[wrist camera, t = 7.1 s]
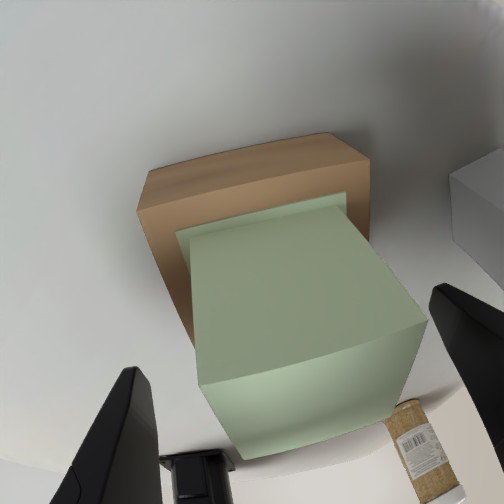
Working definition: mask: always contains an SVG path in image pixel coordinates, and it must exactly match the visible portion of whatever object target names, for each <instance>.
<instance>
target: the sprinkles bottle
mask: <svg viewBox="0 0 504 504" xmlns="http://www.w3.org/2000/svg"><path fill="white" fill-rule="evenodd" d="M383 422H384V424H385V425H386V426H387V428H388V431H389V433H390V435H391V437H392V439H393V442H394V445H395V448H396V450H397V452H398V455H399V457H400V459H401V461H402V464H403V466H404V468H405V469H406V471H407V474H408V476H409V478H410V480H411V482H412V485H413V488H414V489H415V492H416V494H417V496H418V498H419V500H420V504H459V503H460V502H462V501H463V500H464V499H465V498H466V494H465V491H464V489H463V487H462V485H460V484H459V481H457V478H456V476H455V474H454V472H453V470H452V468H451V465H450V464H449V460H448V458H447V456H446V454H445V452H444V450H443V448H442V446H441V444H440V442H439V440H438V438H437V436H436V434H435V432H434V430H433V428H432V426H431V424H430V423H429V421H428V419H427V417H426V416H425V413H424V412H423V410H422V408H421V406H420V402H419V401H418V400H410V401H407V402H405V403H402V404H400V405H398V406H397V407H395V408H394V410H393V412H392V415H391V417H389V418H386V419H384V420H383Z"/></svg>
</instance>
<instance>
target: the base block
mask: <svg viewBox="0 0 504 504" xmlns="http://www.w3.org/2000/svg"><path fill="white" fill-rule="evenodd" d="M333 205H337V206H338V208H339V209H340V210H341V211H342V212H343V213H344V214H345V216H346V217H347V218H348V219H349V220H350V221H351V222H352V224H353V225H354V226H355V227H356V228H357V229H358V231H359V232H360V233H361V234H362V235H363V237H364V238H365V239H366V240H367V241H368V242H369V221H370V159H369V158H367V157H366V156H364V155H363V154H361V153H360V152H358V151H357V150H355V149H353V148H352V147H350V146H349V145H347V144H346V143H344V142H342V141H341V140H339V139H338V138H336V137H334V136H333V135H331V134H330V133H328V132H327V133H321V134H314V135H308V136H302V137H296V138H291V139H285V140H280V141H274V142H269V143H264V144H259V145H254V146H249V147H245V148H240V149H235V150H231V151H226V152H222V153H218V154H213V155H209V156H205V157H201V158H197V159H193V160H189V161H185V162H181V163H178V164H174V165H170V166H166V167H163V168H159V169H156V170H152V171H149V173H148V176H147V179H146V182H145V185H144V188H143V191H142V194H141V198H140V201H139V204H138V207H137V211H136V212H137V215H138V217H139V220H140V223H141V225H142V228H143V230H144V233H145V236H146V238H147V241H148V243H149V246H150V248H151V251H152V253H153V256H154V258H155V261H156V263H157V266H158V268H159V270H160V273H161V275H162V277H163V280H164V282H165V285H166V287H167V289H168V291H169V294H170V296H171V298H172V301H173V303H174V305H175V307H176V310H177V312H178V314H179V316H180V318H181V321H182V323H183V325H184V327H185V329H186V331H187V334H188V336H189V338H190V340H191V342H192V344H193V346H194V348H195V338H194V323H193V306H192V287H191V264H190V238H192V237H196V236H201V235H205V234H209V233H213V232H217V231H222V230H226V229H230V228H235V227H239V226H243V225H247V224H252V223H256V222H261V221H265V220H269V219H274V218H278V217H283V216H287V215H292V214H296V213H301V212H306V211H310V210H315V209H319V208H324V207H329V206H333Z"/></svg>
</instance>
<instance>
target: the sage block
mask: <svg viewBox="0 0 504 504" xmlns="http://www.w3.org/2000/svg"><path fill="white" fill-rule="evenodd" d="M190 264H191V287H192V306H193V323H194V338H195V351H196V364H197V376H198V386H199V388H200V390H201V391H202V393H203V395H204V397H205V398H206V400H207V402H208V403H209V405H210V407H211V409H212V410H213V412H214V414H215V415H216V417H217V419H218V420H219V422H220V423H221V425H222V427H223V428H224V430H225V432H226V433H227V435H228V436H229V438H230V440H231V441H232V443H233V444H234V446H235V447H236V449H237V450H238V452H239V454H240V455H241V457H242V458H243V460H248V459H253V458H258V457H262V456H267V455H271V454H276V453H280V452H284V451H288V450H292V449H296V448H300V447H303V446H307V445H310V444H314V443H317V442H321V441H324V440H327V439H330V438H334V437H337V436H340V435H343V434H346V433H349V432H352V431H355V430H357V429H360V428H363V427H366V426H368V425H371V424H374V423H376V422H379V421H381V420H384V419H386V418H389V417H391V415H392V412H393V410H394V408H395V406H396V404H397V401H398V399H399V397H400V395H401V392H402V390H403V387H404V385H405V383H406V380H407V378H408V375H409V373H410V370H411V368H412V365H413V362H414V360H415V357H416V354H417V352H418V349H419V346H420V343H421V340H422V338H423V335H424V332H425V329H426V326H427V322H428V318H427V317H426V315H425V314H424V313H423V311H422V310H421V309H420V307H419V306H418V305H417V303H416V302H415V301H414V299H413V298H412V297H411V295H410V294H409V293H408V291H407V290H406V289H405V287H404V286H403V285H402V284H401V282H400V281H399V280H398V278H397V277H396V276H395V275H394V273H393V272H392V271H391V269H390V268H389V267H388V266H387V264H386V263H385V262H384V261H383V260H382V258H381V257H380V256H379V255H378V253H377V252H376V251H375V250H374V248H373V247H372V246H371V245H370V244H369V242H368V241H367V240H366V239H365V238H364V237H363V235H362V234H361V233H360V232H359V231H358V229H357V228H356V227H355V226H354V225H353V224H352V222H351V221H350V220H349V219H348V218H347V217H346V216H345V214H344V213H343V212H342V211H341V210H340V209H339V208H338V206H337V205H333V206H329V207H324V208H319V209H315V210H310V211H306V212H301V213H296V214H292V215H287V216H283V217H278V218H274V219H269V220H265V221H261V222H256V223H252V224H247V225H243V226H239V227H235V228H230V229H226V230H222V231H217V232H213V233H209V234H205V235H201V236H196V237H192V238H190Z"/></svg>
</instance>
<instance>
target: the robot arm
mask: <svg viewBox="0 0 504 504" xmlns="http://www.w3.org/2000/svg"><path fill="white" fill-rule="evenodd" d="M429 311H430V314H431V316H432V318H433V320H434V322H435V325H436V327H437V329H438V331H439V334H440V336H441V338H442V341H443V343H444V345H445V347H446V350H447V352H448V354H449V356H450V357H451V359H452V361H453V363H454V365H455V367H456V369H457V370H458V372H459V374H460V376H461V378H462V380H463V382H464V384H465V386H466V388H467V390H468V392H469V394H470V396H471V398H472V400H473V402H474V404H475V406H476V408H477V411H478V413H479V415H480V417H481V419H482V421H483V423H484V426H485V428H486V430H487V432H488V435H489V437H490V439H491V442H492V444H493V447H494V449H495V452H496V454H497V457H498V459H499V462H500V464H501V467H502V470H503V472H504V312H502V311H500V310H498V309H496V308H494V307H492V306H490V305H489V304H487V303H485V302H483V301H481V300H479V299H477V298H475V297H473V296H471V295H469V294H467V293H465V292H463V291H461V290H459V289H457V288H455V287H453V286H451V285H449V284H447V283H442V284H439V285H437V286H435V287H434V288H433V291H432V294H431V298H430V302H429ZM159 464H161V465H162V466H164V467H165V468H166V469H168V470H169V471H170V472H171V477H172V489H173V499H174V504H233V498H232V493H231V488H230V482H229V476H228V472H231V471H235V466H234V465H233V463H232V462H231V461H230V460H229V459H228V457H227V456H226V455H225V454H224V452H223V451H221V450H216V451H209V452H203V453H196V454H188V455H180V456H170V457H160V458H159V450H158V434H157V426H156V420H155V413H154V406H153V399H152V392H151V386H150V383H149V381H148V380H147V378H146V377H145V376H144V374H143V373H142V371H141V370H140V369H139V368H138V367H137V366H133V367H127V368H124V369H123V370H122V372H121V374H120V375H119V377H118V379H117V381H116V382H115V384H114V386H113V388H112V389H111V391H110V393H109V395H108V397H107V398H106V400H105V402H104V404H103V406H102V407H101V409H100V411H99V413H98V415H97V417H96V418H95V420H94V422H93V424H92V426H91V428H90V429H89V431H88V433H87V435H86V437H85V439H84V441H83V443H82V444H81V446H80V448H79V450H78V452H77V454H76V456H75V458H74V460H73V462H72V466H70V467H69V469H68V471H67V473H66V476H65V477H64V479H63V481H62V483H61V485H60V487H59V488H58V490H57V492H56V493H55V495H54V497H53V498H52V500H51V502H50V503H49V504H163V502H162V493H161V492H162V491H161V480H160V466H159Z"/></svg>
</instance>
